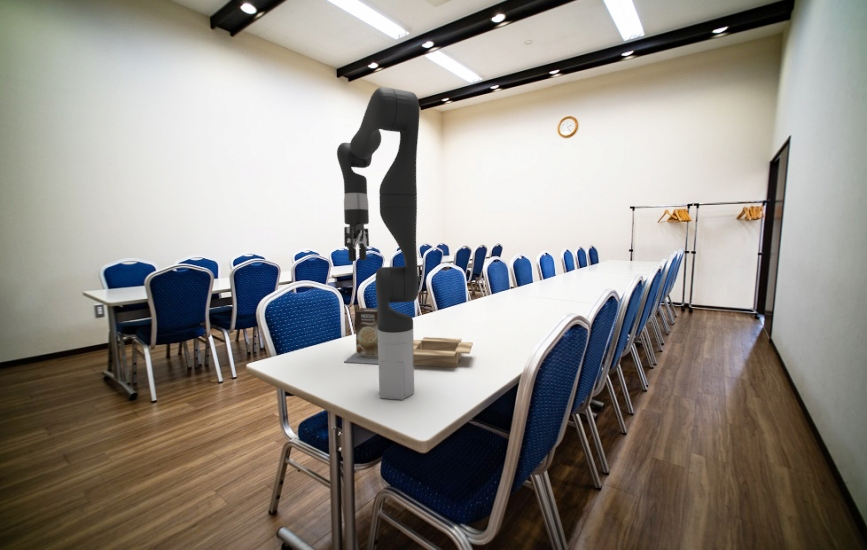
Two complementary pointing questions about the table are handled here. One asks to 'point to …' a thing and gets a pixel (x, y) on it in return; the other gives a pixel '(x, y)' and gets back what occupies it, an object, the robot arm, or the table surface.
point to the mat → (362, 360)
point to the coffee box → (367, 333)
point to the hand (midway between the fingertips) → (357, 260)
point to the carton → (440, 351)
